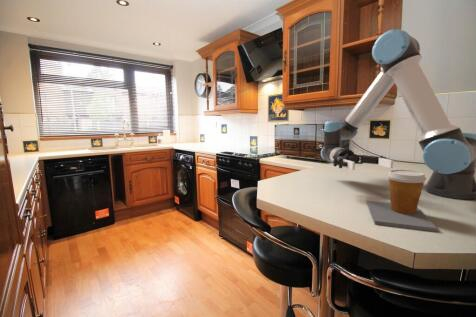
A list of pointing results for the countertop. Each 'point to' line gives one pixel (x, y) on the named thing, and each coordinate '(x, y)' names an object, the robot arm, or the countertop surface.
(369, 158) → the robot arm
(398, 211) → the disposable coffee cup
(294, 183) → the countertop surface
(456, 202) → the countertop surface
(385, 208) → the drip mat
